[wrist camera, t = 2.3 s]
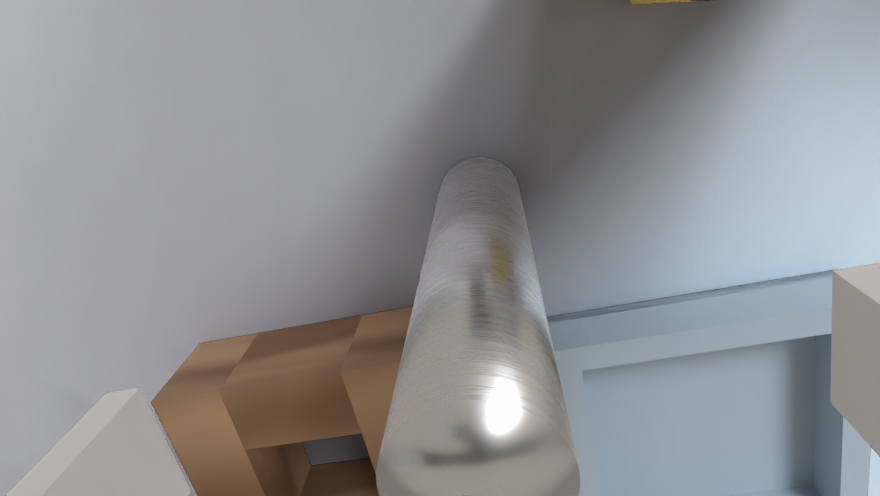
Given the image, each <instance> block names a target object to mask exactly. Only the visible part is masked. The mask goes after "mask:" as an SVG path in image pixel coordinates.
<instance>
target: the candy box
mask: <svg viewBox="0 0 880 496" xmlns="http://www.w3.org/2000/svg"><path fill="white" fill-rule="evenodd" d="M693 1H711V0H629V2H630V3H631V4H633V5H634V4H650V3H668V2H693Z"/></svg>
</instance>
